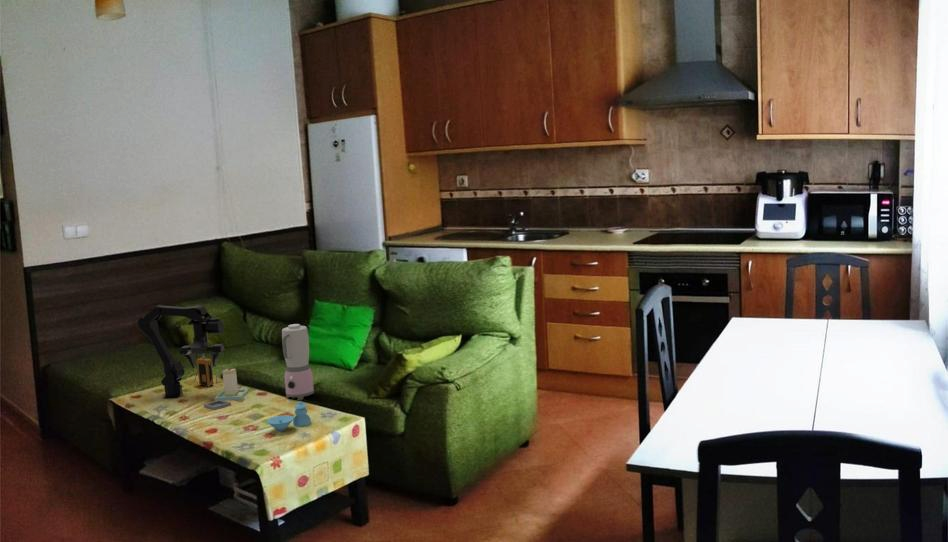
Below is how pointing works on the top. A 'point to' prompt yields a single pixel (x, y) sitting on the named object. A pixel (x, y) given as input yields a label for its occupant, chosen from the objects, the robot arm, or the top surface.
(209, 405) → the small gray square tray
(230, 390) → the block
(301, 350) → the blender
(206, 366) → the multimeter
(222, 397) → the parts tray
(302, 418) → the blue small pieces
